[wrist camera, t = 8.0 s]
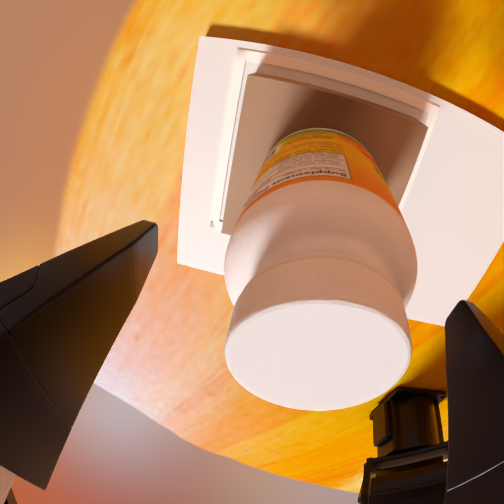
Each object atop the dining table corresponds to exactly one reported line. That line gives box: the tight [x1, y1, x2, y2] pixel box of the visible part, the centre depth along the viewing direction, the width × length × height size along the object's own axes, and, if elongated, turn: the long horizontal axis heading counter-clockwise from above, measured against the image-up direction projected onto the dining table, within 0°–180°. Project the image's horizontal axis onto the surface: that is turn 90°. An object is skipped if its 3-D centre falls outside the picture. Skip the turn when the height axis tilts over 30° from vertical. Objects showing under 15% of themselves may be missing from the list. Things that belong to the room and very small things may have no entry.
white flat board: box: [177, 36, 504, 326], centre depth 17 cm, size 20×14×1 cm
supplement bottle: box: [224, 128, 418, 411], centre depth 10 cm, size 5×5×10 cm
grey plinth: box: [221, 73, 428, 235], centre depth 15 cm, size 8×8×2 cm
